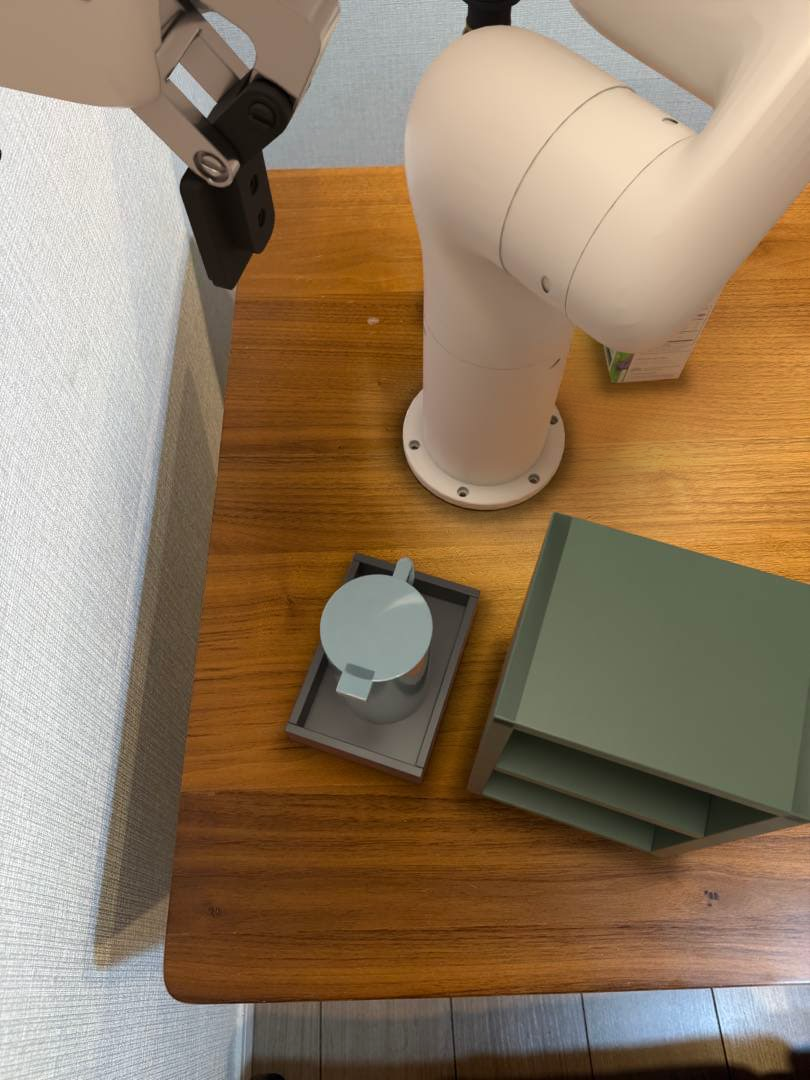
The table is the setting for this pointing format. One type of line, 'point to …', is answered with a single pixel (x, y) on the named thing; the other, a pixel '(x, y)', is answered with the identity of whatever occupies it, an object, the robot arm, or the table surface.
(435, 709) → the tray
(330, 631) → the jug
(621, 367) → the syrup box
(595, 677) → the shelf
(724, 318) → the table surface
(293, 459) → the table surface
